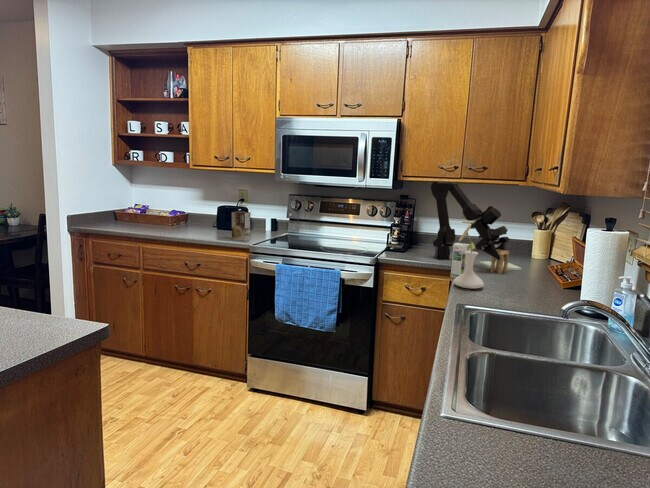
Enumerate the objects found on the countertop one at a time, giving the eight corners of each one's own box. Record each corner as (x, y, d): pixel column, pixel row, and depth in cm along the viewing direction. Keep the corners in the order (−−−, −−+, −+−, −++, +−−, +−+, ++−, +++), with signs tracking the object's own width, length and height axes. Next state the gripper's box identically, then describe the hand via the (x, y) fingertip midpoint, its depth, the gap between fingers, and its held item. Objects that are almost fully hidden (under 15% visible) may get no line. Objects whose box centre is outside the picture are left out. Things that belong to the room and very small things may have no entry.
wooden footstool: (490, 271, 208) (492, 250, 206) (497, 270, 211) (499, 249, 209) (500, 274, 204) (502, 252, 202) (506, 273, 207) (509, 251, 205)
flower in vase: (461, 281, 187) (467, 220, 183) (488, 287, 179) (495, 224, 175) (445, 287, 178) (451, 222, 173) (472, 293, 170) (479, 226, 166)
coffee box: (250, 239, 267) (251, 212, 265) (244, 241, 262) (245, 213, 259) (237, 238, 271) (237, 211, 268) (231, 239, 265) (231, 211, 262)
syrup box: (449, 277, 194) (452, 243, 192) (457, 275, 199) (460, 242, 196) (462, 279, 190) (465, 245, 188) (469, 277, 195) (472, 244, 192)
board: (493, 269, 212) (493, 267, 212) (479, 263, 226) (479, 261, 226) (521, 270, 214) (521, 268, 214) (505, 263, 228) (506, 261, 228)
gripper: (483, 220, 201) (502, 249, 194) (508, 219, 212) (528, 246, 205) (467, 235, 209) (485, 264, 202) (492, 233, 220) (510, 260, 213)
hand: (502, 258), depth 205 cm, fingers closed on wooden footstool, 5 cm apart
